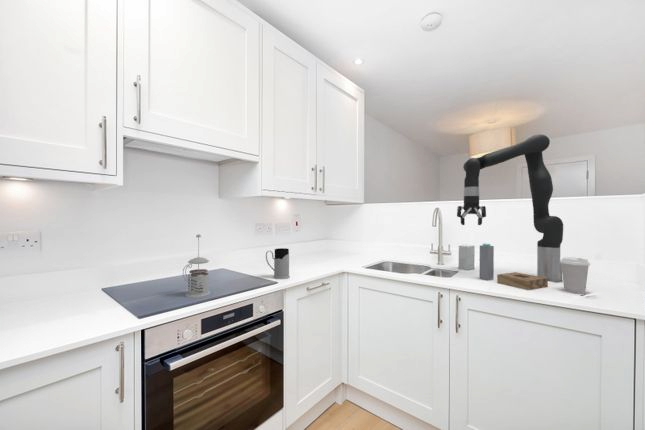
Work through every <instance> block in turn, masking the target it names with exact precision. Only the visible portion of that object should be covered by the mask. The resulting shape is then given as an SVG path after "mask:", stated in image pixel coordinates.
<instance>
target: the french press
mask: <svg viewBox="0 0 645 430" xmlns="http://www.w3.org/2000/svg"><path fill="white" fill-rule="evenodd" d="M196 238H198V239H197V240H198V246H197V248H198V249H197V251H198V253H197V255H198V256H196V257H194V258H192V259H190V260H188V261H187V263H188V264H186V265H185V266H184V268H183V269H182V272H184V271H185V276H184V274H182V277H183V279H184V281H185V282H187V287H188V288H187V289H188V290H187V293H186V294H185V297H187V298H201V297H206V295H207V296H209V295H210V293H212V292H211V291H210V290H209V272H208V269H205V268H202V269H200V265H201V264H207V263H209V262H210V260H208V259H207V258H205V257H200V238H202V235H201V234H197V235H196ZM190 265H191V266H190ZM193 265H197V266H198V267H197V268H196V269H192V266H193ZM188 268H190V269H192V270H189V271H188V272H189V274H188V275H187V269H188ZM185 277H186V278H185Z"/></svg>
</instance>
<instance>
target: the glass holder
mask: <svg viewBox="0 0 645 430" xmlns="http://www.w3.org/2000/svg"><path fill="white" fill-rule="evenodd" d="M269 252H270V253H271V257H272V260H274V261H273V264H274V265H273V267H272V266H271V265H270V262H269V260H268V253H269ZM265 260H266V262H267V266H269V267H270V268H271V270H273V279H275V280H286V279H287V280H288V279H290V277H291V276H290V249H289V248H285V247H283V248H275V249H274V252H273V251H271V250H267V251H266V252H265Z"/></svg>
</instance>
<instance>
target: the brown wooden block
mask: <svg viewBox="0 0 645 430" xmlns="http://www.w3.org/2000/svg"><path fill="white" fill-rule="evenodd" d="M496 279H497V280H496V282H497V284H500V285H505V286H510V287H514V288H518V289H522V290H527V291H533V290H537V289H538V290H539V289H544V288H545V289H546V288H549V286H548V284H549V281H548V278H545V277H539V276H537V275H532V274H527V273H522V272H518V271H517V272H516V271H514V272H507V273H500V274H498V273H497V276H496Z"/></svg>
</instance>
